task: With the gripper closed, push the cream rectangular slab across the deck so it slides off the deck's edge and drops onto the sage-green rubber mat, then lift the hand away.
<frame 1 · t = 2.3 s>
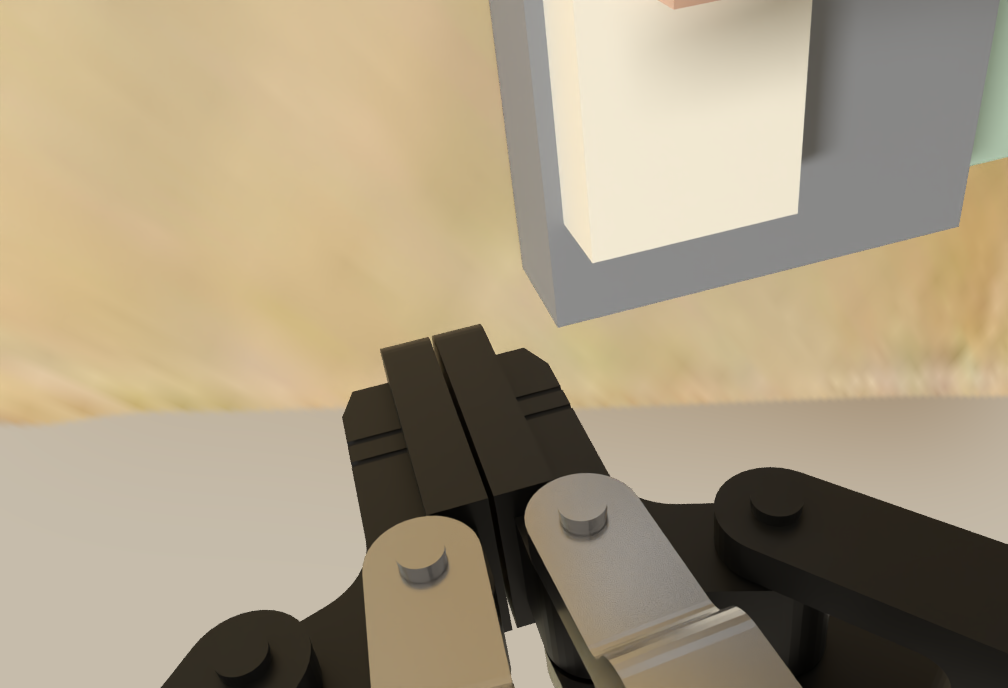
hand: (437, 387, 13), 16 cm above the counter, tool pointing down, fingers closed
cream rectangular slab: (656, 48, 24), point 4 cm above the counter, touching deck
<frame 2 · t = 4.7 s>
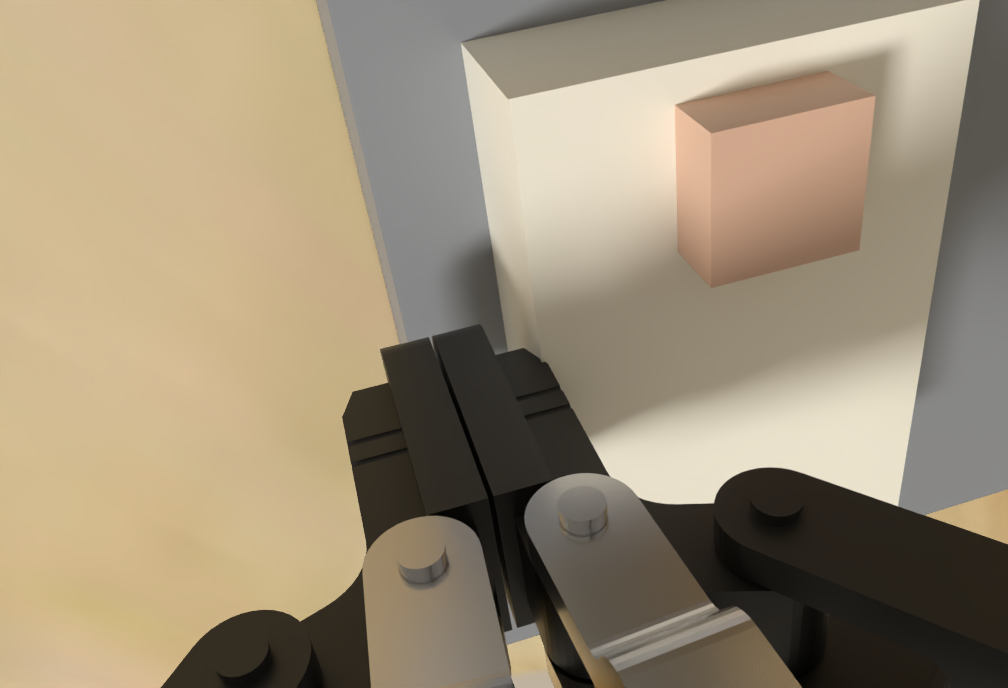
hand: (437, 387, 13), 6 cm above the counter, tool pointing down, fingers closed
deck: (705, 153, 19), on the counter
cream rectangular slab: (675, 276, 15), point 4 cm above the counter, touching gripper
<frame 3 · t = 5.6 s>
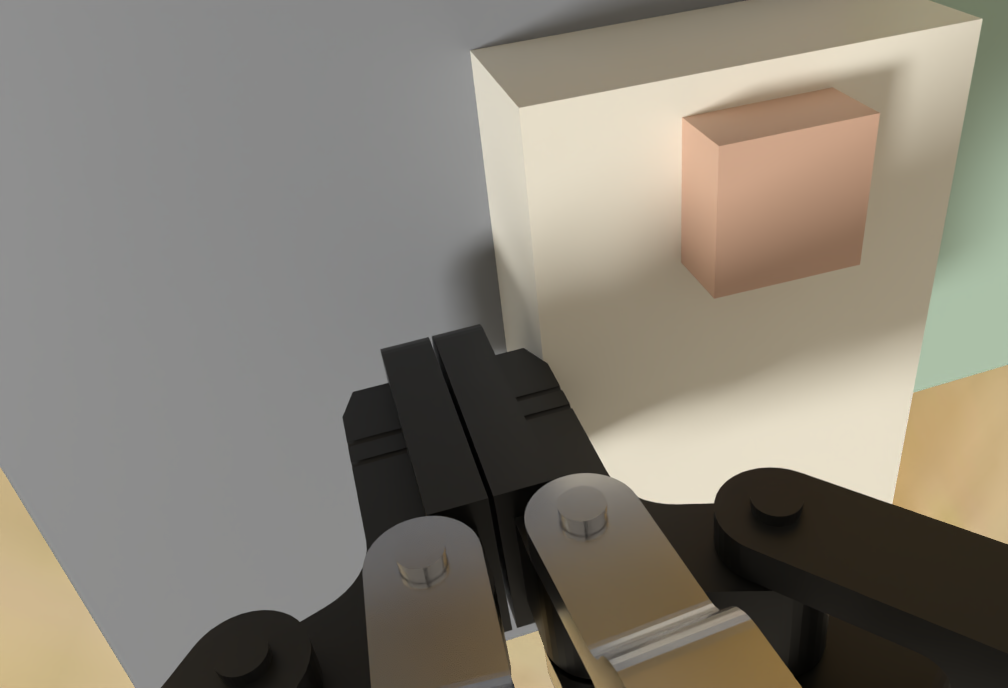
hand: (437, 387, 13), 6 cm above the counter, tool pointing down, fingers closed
mat: (966, 83, 20), on the counter
deck: (398, 222, 18), on the counter
cream rectangular slab: (674, 286, 15), point 4 cm above the counter, touching deck, gripper
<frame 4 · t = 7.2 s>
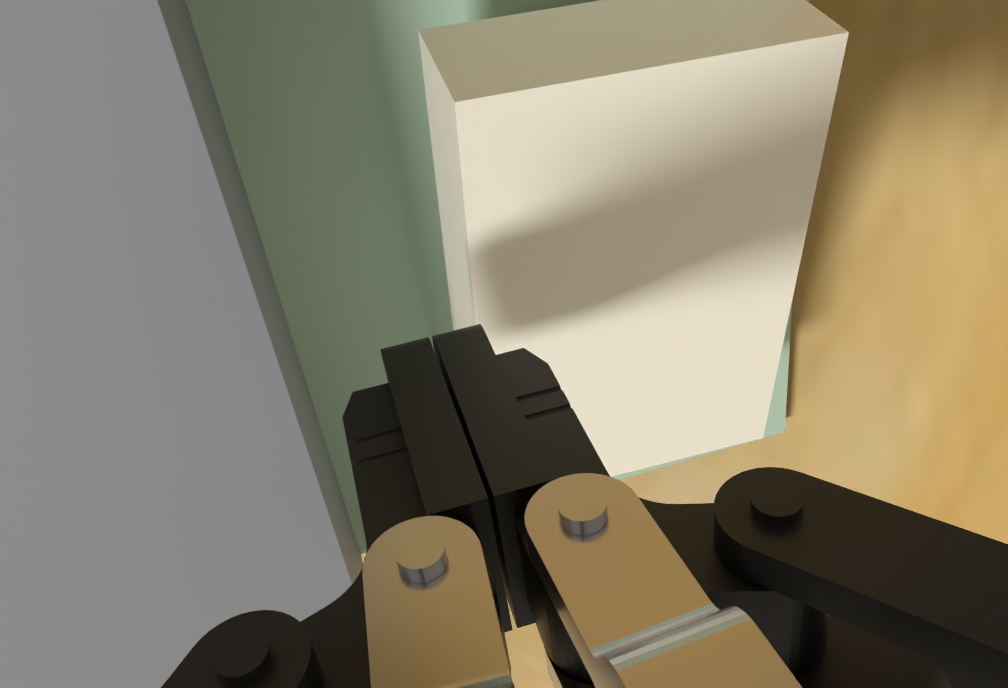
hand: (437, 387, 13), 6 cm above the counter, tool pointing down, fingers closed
mat: (540, 187, 18), on the counter
cream rectangular slab: (642, 307, 16), point 4 cm above the counter, tilted 171°, touching mat
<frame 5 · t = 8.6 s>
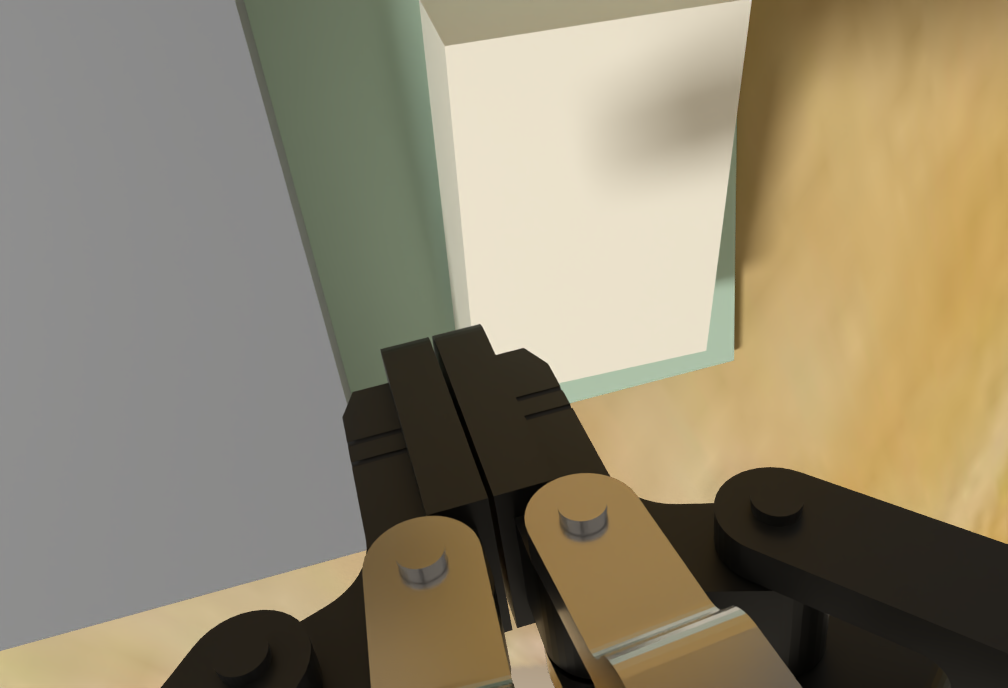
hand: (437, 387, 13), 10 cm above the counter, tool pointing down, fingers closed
mat: (519, 136, 22), on the counter
cream rectangular slab: (598, 224, 20), point 4 cm above the counter, tilted 171°, touching mat
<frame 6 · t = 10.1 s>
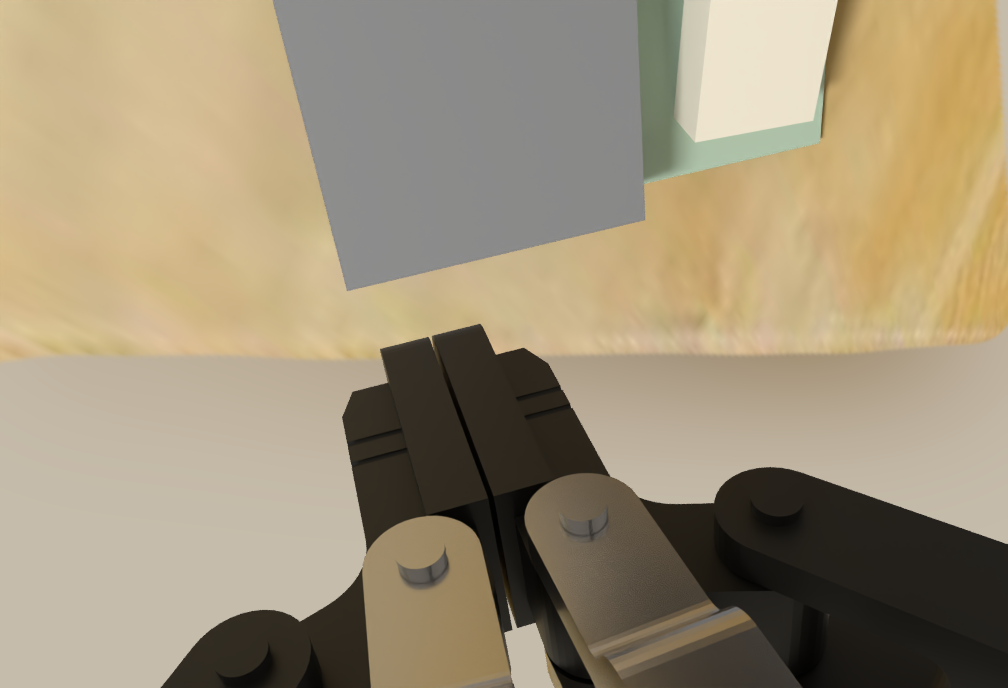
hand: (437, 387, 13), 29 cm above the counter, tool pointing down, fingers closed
mat: (718, 0, 42), on the counter
deck: (454, 54, 40), on the counter
cream rectangular slab: (769, 38, 40), point 4 cm above the counter, tilted 171°, touching mat
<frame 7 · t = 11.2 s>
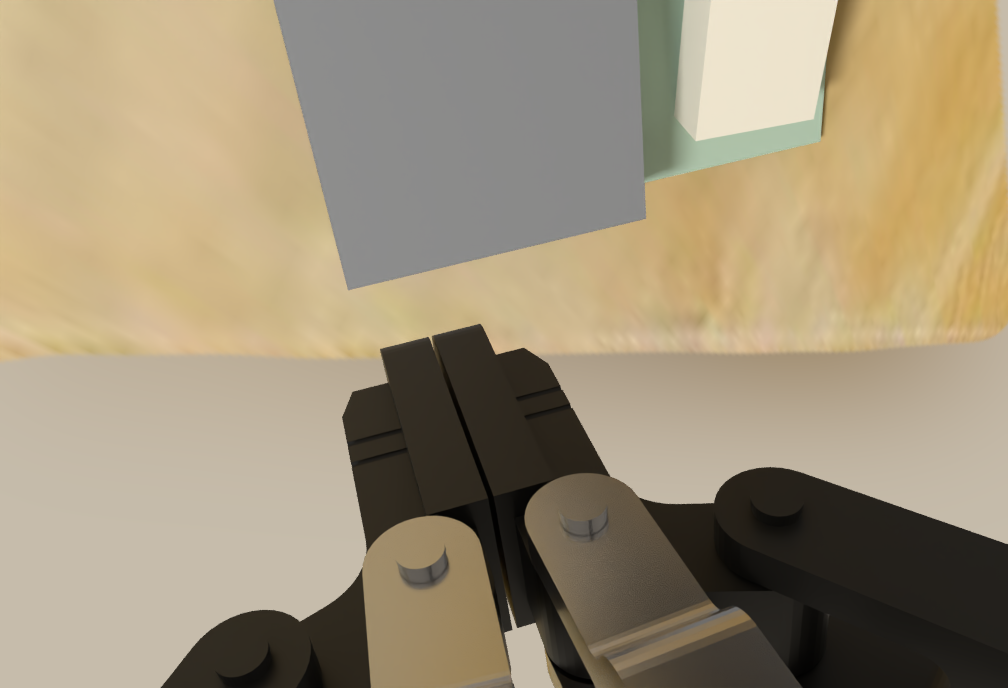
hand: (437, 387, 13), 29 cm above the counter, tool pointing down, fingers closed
deck: (454, 53, 40), on the counter
cream rectangular slab: (770, 37, 40), point 4 cm above the counter, tilted 171°, touching mat
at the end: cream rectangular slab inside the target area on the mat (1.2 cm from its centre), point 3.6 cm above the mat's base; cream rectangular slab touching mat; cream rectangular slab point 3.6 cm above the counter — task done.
